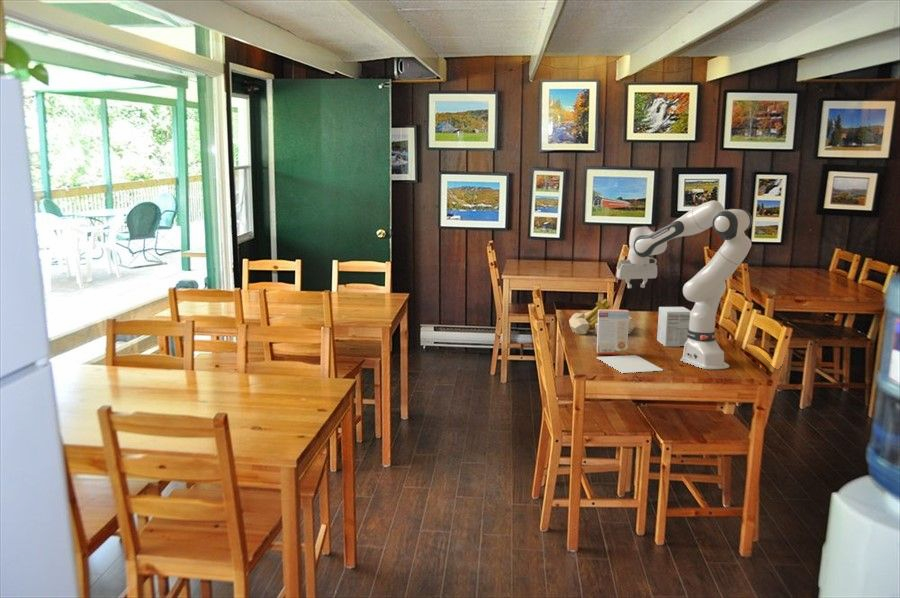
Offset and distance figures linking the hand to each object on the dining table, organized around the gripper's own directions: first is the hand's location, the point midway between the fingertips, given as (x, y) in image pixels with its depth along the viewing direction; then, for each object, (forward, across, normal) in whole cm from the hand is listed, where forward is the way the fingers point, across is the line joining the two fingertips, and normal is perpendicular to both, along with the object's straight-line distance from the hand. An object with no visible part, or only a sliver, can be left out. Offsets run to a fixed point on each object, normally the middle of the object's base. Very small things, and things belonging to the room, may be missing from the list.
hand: (636, 287), depth 370 cm
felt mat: (+29, -17, -29) cm, 45 cm away
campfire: (+30, -1, +34) cm, 45 cm away
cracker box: (+29, -17, -12) cm, 36 cm away
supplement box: (+29, +23, +1) cm, 37 cm away
